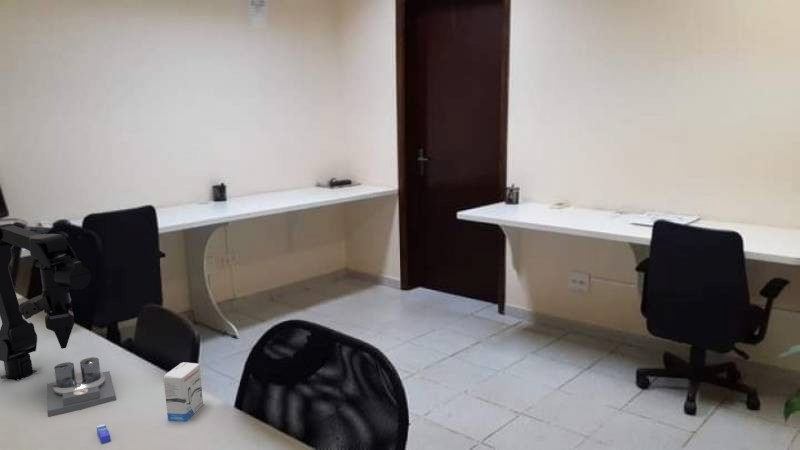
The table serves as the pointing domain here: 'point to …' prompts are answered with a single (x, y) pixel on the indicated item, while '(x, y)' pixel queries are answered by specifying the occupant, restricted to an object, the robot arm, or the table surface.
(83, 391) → the scale
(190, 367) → the ink box
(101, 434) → the eraser
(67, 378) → the cylinder
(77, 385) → the scale pan
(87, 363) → the cylinder
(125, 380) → the table surface
